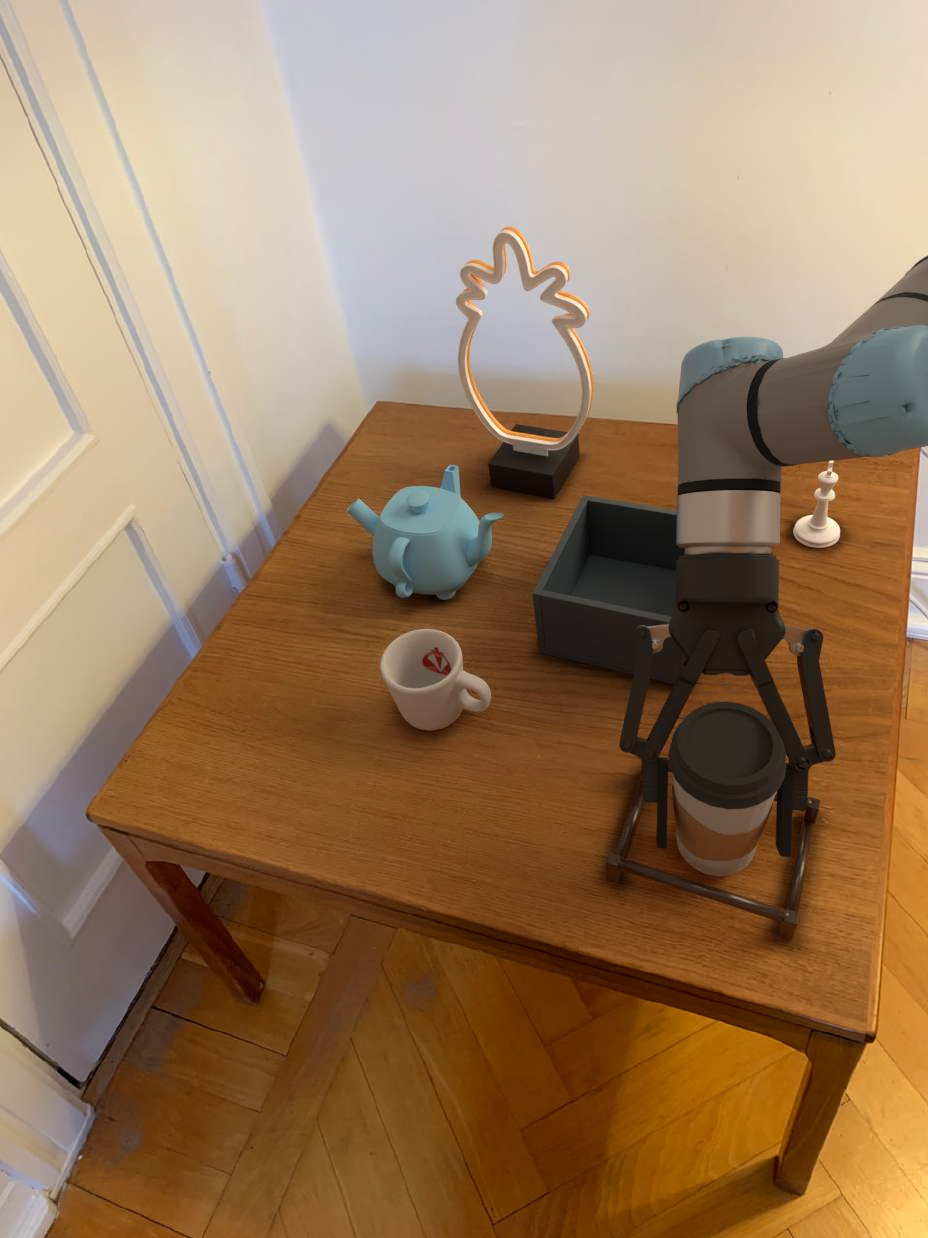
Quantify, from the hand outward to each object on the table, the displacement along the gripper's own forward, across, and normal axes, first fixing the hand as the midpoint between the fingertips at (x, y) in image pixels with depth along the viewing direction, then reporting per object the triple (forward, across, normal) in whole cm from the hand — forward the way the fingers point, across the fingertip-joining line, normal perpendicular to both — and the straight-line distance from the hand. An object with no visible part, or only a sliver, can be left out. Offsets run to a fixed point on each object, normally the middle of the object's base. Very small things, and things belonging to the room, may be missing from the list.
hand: (721, 847), depth 66 cm
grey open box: (-17, +8, -26) cm, 32 cm away
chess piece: (-26, -13, -36) cm, 46 cm away
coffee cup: (+2, 0, -6) cm, 7 cm away
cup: (-7, +26, -16) cm, 31 cm away
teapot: (-22, +30, -31) cm, 49 cm away
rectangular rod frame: (+2, 0, -7) cm, 7 cm away
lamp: (-35, +20, -44) cm, 59 cm away
